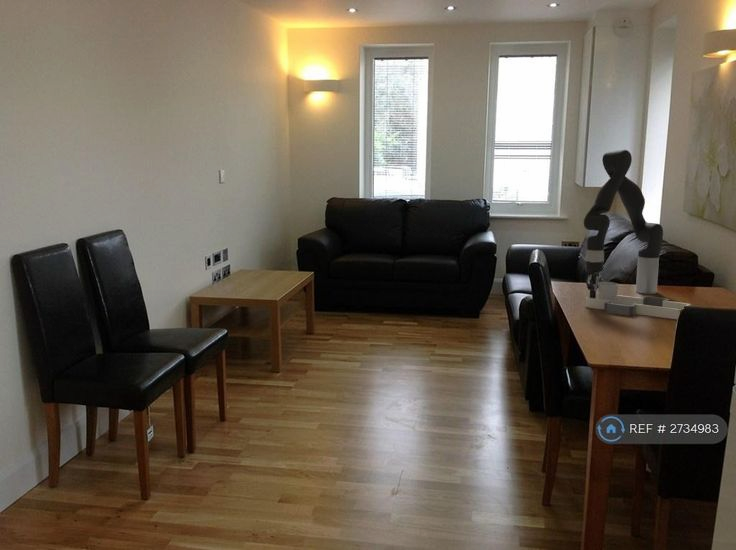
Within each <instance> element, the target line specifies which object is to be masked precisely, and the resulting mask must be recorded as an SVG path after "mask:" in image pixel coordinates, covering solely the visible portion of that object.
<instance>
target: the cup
mask: <svg viewBox="0 0 736 550" xmlns="http://www.w3.org/2000/svg"><path fill="white" fill-rule="evenodd" d="M597 290H598V293H599V299H603V300H611V301H612V303H613V304H614V303H615V301H616V297H617V295H618V290H619V283H616V282H614V281H613V282H612V281H600V282H599V283H598V288H597Z"/></svg>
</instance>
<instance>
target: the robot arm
mask: <svg viewBox="0 0 736 550" xmlns="http://www.w3.org/2000/svg"><path fill="white" fill-rule="evenodd" d="M632 161H633V157H632V154H631V151H629V150H627V149H619V150H611V151H607V152H605V153H604V154H603V156H602V166H603V168H604V171H605V172H606V173H607V175H608V177H609V179H608V180H607V181H606V182H605V183H604V185H602V187H601V188H600V189H599V191H598V193H597V194H596V198H595V201H594V204H593V205H592V206H591V208H590V209H589V211H588V212H587V214H585V217H584V219H583V226H584V228H585V230H588V231H597V234H595V235H590V236H588V237H587V241H586V243H587V244H586V252H585V253H586V254H585V264H584V265H585V266H584V269H585V271H586V272H588V275H587V279H585V284H586V288H587V290H589V298H595V299H596V293H597V290H598V283H599V282H601V280H602V276H601V275H600V273H601V272H603V271H604V265H605V264H604V263H605V239H606V236H607V233H608V230H609V227H610V224H611V220H610V218H609V216H608V215H607V214H606V213H609V212H610V211H611V208H612V205H613V204H614V203H613V202H614V200H615V197H616V194H617V193H618V196H619V197H620V200H621V202H622V204H623V206H624V208H625V210H626V213H627V215H628V218H629V220H630V223H631V225H632V228H633V231H634V234H635V236H636V238H637V240H638V241H640V242H643V243H647V245H646V247H645V248H643V249H639V250H638V253H637V255H638V256H637V266H636V282H635V283H636V284H635V292H636V293H638V294H644V295H645V294H646V295H653V294H657V290H658V280H659V279H658V277H659V266H660V265H659V261H660V254H661V250H662V246H663V245H662V243H663V238H664V228H663V226H662V225H661V224H660V223H654V222H647V221H646V220H645V218H644V215H643V212H644V208H645V203H646V200H645V197H644V195H643V192H642V190H641V188H640V187H639V185H638V184H637V183H635V182H634V181H632V180H631V179H629V178H628V177H627V176H626V175H627V173H628V172H629V170H630V169H631V168H630V167H631V165H632V163H633V162H632Z"/></svg>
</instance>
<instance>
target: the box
mask: <svg viewBox="0 0 736 550" xmlns="http://www.w3.org/2000/svg"><path fill="white" fill-rule="evenodd" d="M684 306H691V307H692V303H687V302H686V303H685V302H678V301H670V298H667V297H658V296H650V295H649V296H648V295H643V296H642V297H638V296H637V297H635V296H629V295H620V294H617V297H616V301H615V303H614V304H613V303H612V301H611V300H603V299H599V292H596V298H590V297H585V305H584V307H585V308H591V309H599V310H603V313H606V314H612V315H619V314H620V315H621V316H628V317H634V316H635V315H643V316H648V317H649V316H650V317H656V318H657V317H658V318H663V319H672V320H678V319H677V318H678V315H679V312H680V310H681V308H682V307H684Z"/></svg>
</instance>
